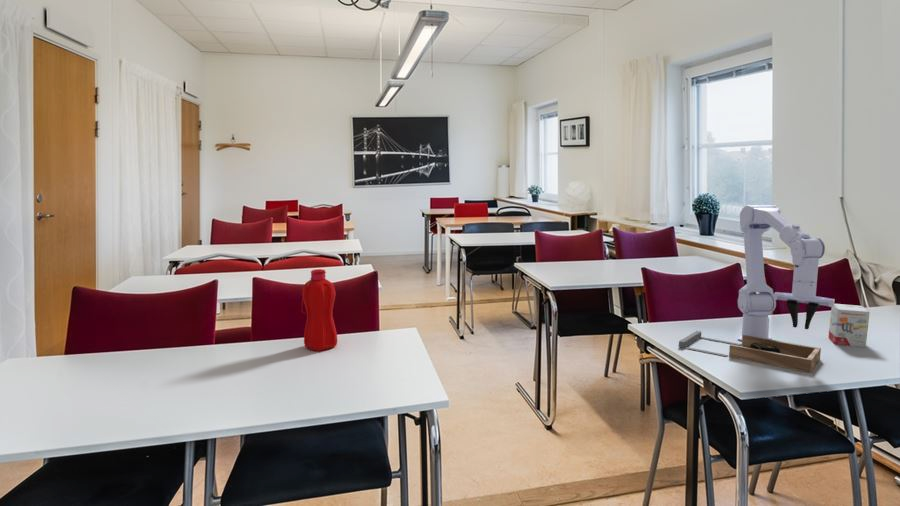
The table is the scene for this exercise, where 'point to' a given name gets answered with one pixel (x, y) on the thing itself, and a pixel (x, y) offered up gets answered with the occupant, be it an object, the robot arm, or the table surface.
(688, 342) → the bay
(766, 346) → the tape measure
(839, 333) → the ink box
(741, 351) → the open frame
